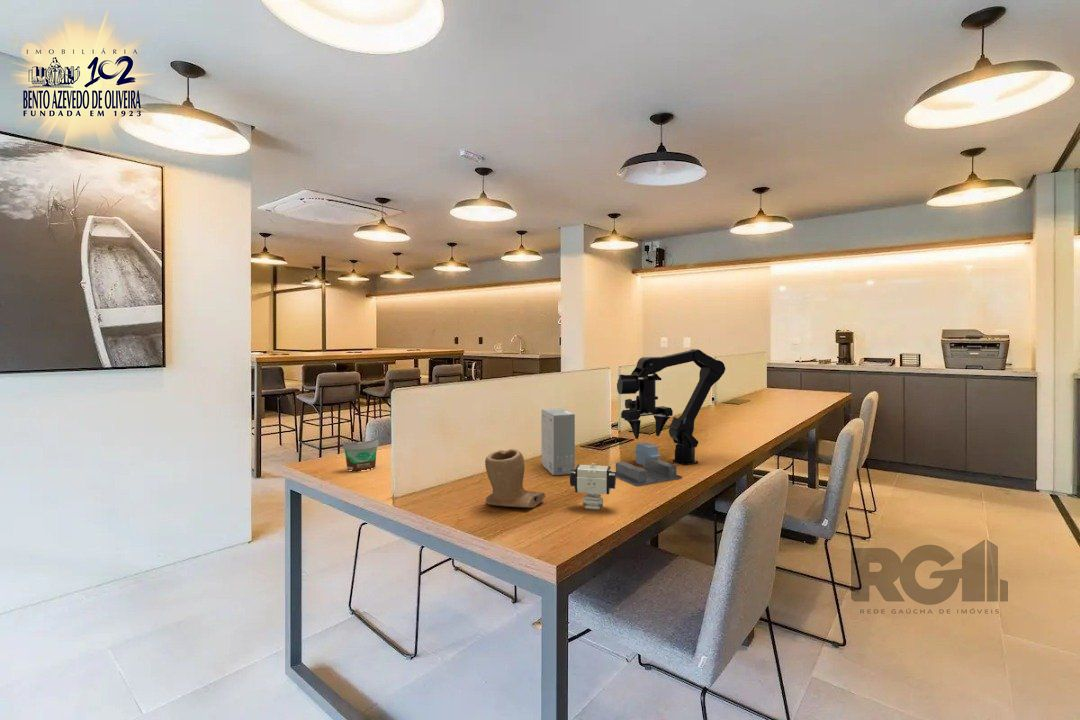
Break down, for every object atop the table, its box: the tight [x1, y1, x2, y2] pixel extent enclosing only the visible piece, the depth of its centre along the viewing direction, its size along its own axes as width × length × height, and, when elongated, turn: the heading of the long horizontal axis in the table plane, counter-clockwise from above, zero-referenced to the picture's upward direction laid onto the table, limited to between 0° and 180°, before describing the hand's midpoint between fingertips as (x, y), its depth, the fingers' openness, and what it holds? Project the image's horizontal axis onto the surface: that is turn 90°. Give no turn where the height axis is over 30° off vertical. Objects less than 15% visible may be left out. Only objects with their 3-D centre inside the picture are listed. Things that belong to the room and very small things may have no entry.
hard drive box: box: [540, 408, 576, 476], centre depth 170 cm, size 16×8×20 cm, turn 15°
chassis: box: [615, 457, 683, 487], centre depth 161 cm, size 18×14×4 cm
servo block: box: [632, 442, 662, 467], centre depth 176 cm, size 11×4×7 cm, turn 27°
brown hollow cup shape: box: [484, 448, 546, 509], centre depth 134 cm, size 15×12×15 cm
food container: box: [342, 437, 380, 471], centre depth 171 cm, size 12×6×10 cm, turn 132°
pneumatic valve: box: [569, 462, 617, 511], centre depth 132 cm, size 6×12×12 cm, turn 77°
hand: (647, 437), depth 176 cm, fingers open, 9 cm apart
